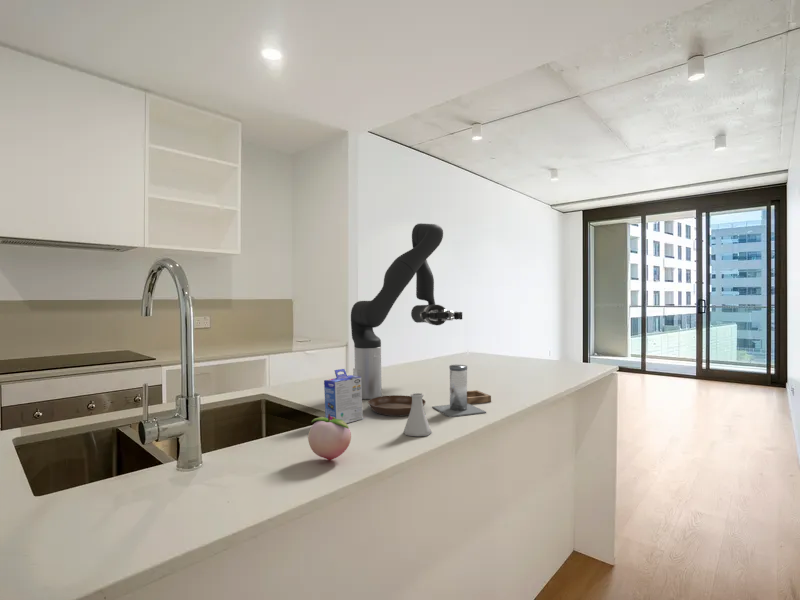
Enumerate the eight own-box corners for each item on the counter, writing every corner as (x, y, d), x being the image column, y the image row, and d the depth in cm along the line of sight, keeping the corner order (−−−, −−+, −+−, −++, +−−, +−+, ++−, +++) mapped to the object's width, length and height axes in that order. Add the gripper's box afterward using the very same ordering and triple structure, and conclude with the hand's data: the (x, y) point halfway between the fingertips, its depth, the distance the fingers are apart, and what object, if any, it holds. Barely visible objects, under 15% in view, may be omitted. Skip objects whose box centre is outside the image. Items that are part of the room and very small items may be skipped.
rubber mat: (449, 417, 132) (449, 415, 132) (432, 407, 143) (432, 406, 143) (486, 413, 136) (486, 411, 136) (466, 403, 147) (466, 402, 147)
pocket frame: (465, 404, 146) (465, 398, 146) (452, 398, 155) (452, 392, 155) (491, 401, 150) (490, 395, 150) (476, 396, 158) (476, 390, 158)
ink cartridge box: (350, 416, 135) (350, 366, 135) (363, 419, 131) (362, 368, 131) (323, 423, 128) (322, 371, 127) (336, 427, 124) (335, 373, 124)
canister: (454, 411, 136) (454, 368, 136) (446, 407, 141) (446, 365, 141) (470, 410, 138) (470, 366, 138) (462, 405, 143) (461, 364, 143)
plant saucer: (404, 401, 154) (403, 392, 153) (437, 412, 139) (437, 402, 139) (357, 409, 144) (357, 399, 143) (388, 422, 129) (388, 411, 129)
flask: (432, 429, 121) (431, 391, 121) (431, 437, 114) (430, 397, 114) (404, 428, 122) (404, 391, 121) (402, 437, 114) (401, 397, 114)
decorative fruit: (300, 466, 96) (299, 418, 96) (317, 452, 104) (316, 408, 104) (342, 470, 94) (341, 421, 93) (356, 456, 101) (355, 411, 101)
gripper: (415, 304, 169) (426, 304, 153) (453, 304, 171) (467, 305, 156) (415, 324, 169) (425, 327, 153) (453, 324, 171) (466, 327, 155)
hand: (446, 315), depth 154 cm, fingers open, 8 cm apart
